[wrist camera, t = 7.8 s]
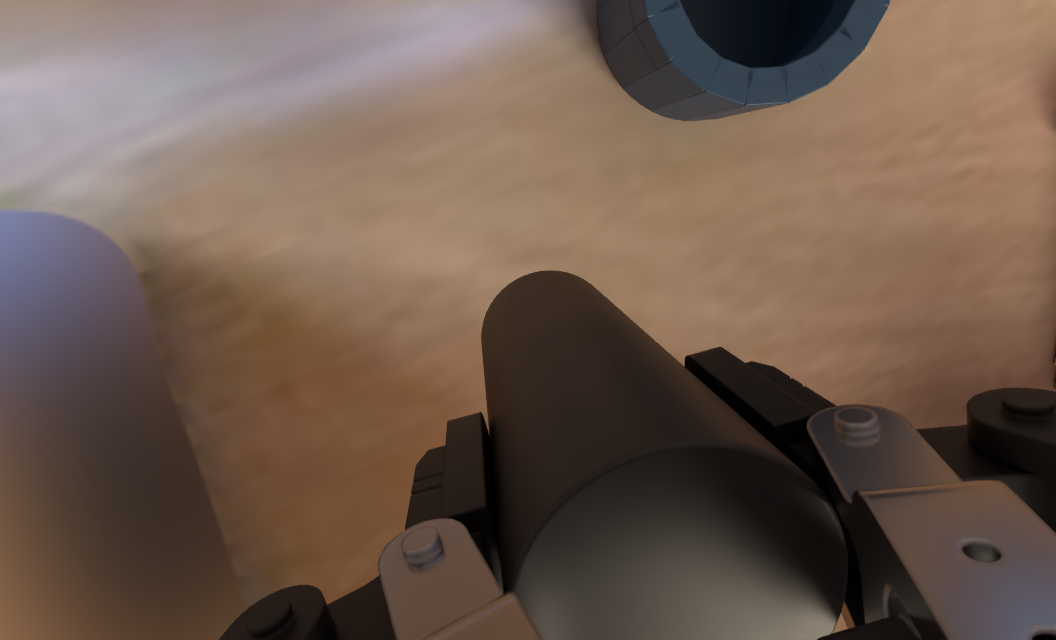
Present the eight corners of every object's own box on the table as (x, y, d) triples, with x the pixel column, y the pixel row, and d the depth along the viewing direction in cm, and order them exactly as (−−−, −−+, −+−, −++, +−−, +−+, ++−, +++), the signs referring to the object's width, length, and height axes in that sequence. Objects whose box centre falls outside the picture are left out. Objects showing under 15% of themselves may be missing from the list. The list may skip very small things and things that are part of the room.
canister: (500, 413, 19) (552, 782, 7) (465, 290, 18) (462, 502, 6) (625, 379, 19) (865, 688, 8) (598, 254, 18) (833, 397, 6)
